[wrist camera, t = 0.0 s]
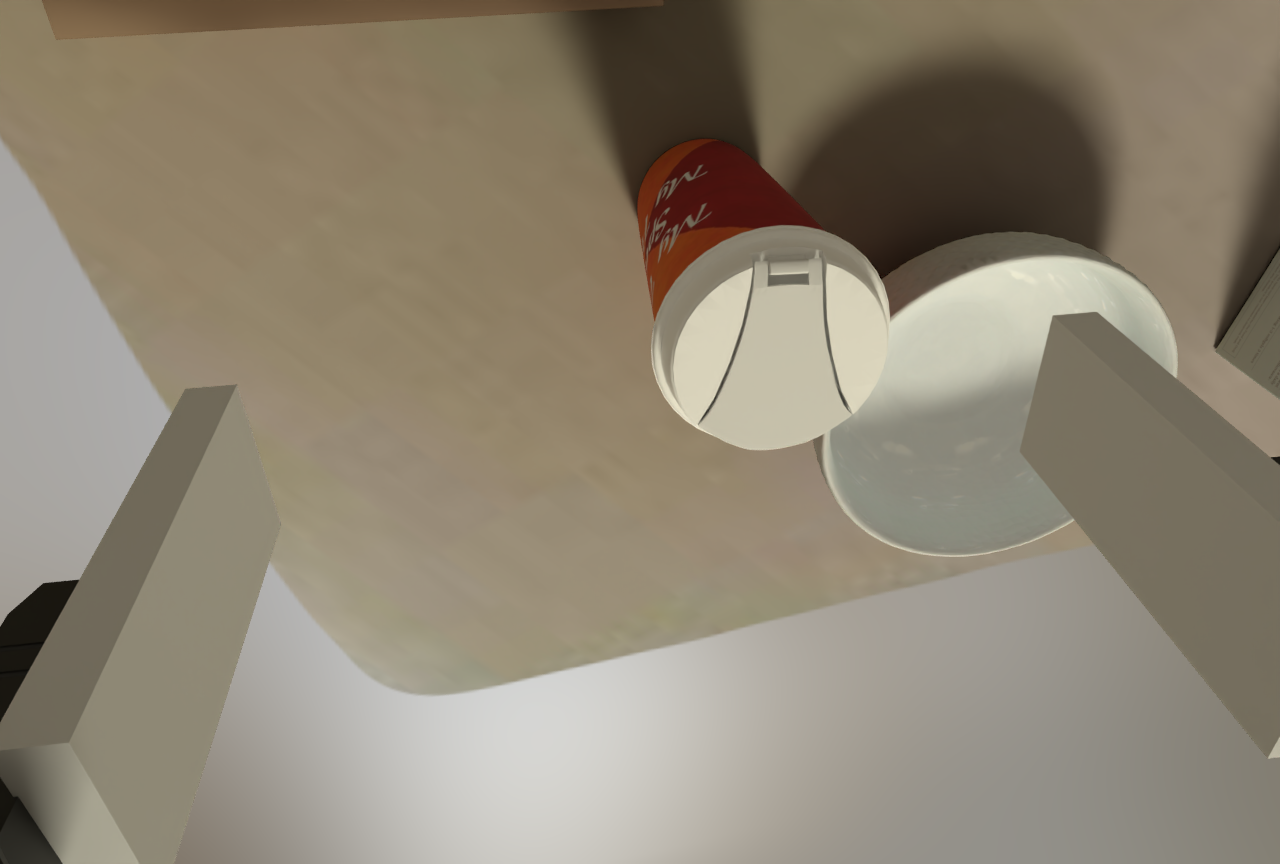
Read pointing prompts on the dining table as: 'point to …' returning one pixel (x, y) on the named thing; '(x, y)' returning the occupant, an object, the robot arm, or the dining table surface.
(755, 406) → the coffee cup
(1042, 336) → the cereal bowl
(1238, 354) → the supplement box
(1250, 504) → the robot arm
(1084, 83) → the dining table surface
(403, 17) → the walnut panel
